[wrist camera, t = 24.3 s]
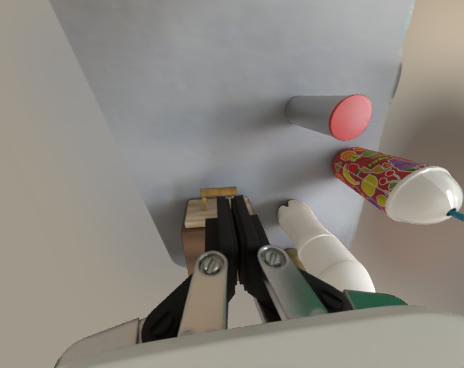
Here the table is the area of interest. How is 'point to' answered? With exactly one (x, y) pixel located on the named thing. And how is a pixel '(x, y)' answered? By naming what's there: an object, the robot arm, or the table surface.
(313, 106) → the spice tin
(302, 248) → the water bottle
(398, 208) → the smoothie
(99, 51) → the table surface
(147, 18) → the table surface
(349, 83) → the table surface
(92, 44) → the table surface
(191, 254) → the cabinet
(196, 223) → the drawer
